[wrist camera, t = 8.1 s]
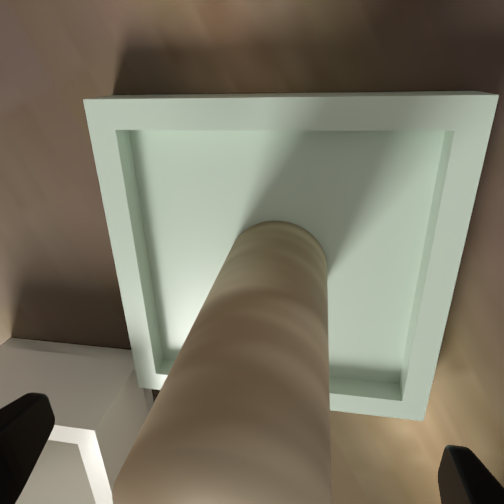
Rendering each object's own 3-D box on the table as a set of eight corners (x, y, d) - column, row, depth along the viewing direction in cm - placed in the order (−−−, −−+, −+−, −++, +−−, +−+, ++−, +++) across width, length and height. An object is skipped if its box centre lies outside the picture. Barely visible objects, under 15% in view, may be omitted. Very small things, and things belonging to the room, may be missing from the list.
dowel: (330, 223, 15) (341, 465, 6) (324, 311, 16) (324, 604, 8) (226, 218, 15) (93, 431, 6) (230, 304, 17) (130, 567, 8)
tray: (475, 90, 13) (498, 94, 11) (414, 386, 19) (423, 421, 17) (111, 95, 15) (82, 99, 13) (155, 359, 21) (138, 387, 19)
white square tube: (144, 351, 21) (94, 430, 16) (163, 454, 24) (125, 543, 20) (10, 337, 22) (-71, 407, 17) (45, 437, 25) (-15, 517, 21)
